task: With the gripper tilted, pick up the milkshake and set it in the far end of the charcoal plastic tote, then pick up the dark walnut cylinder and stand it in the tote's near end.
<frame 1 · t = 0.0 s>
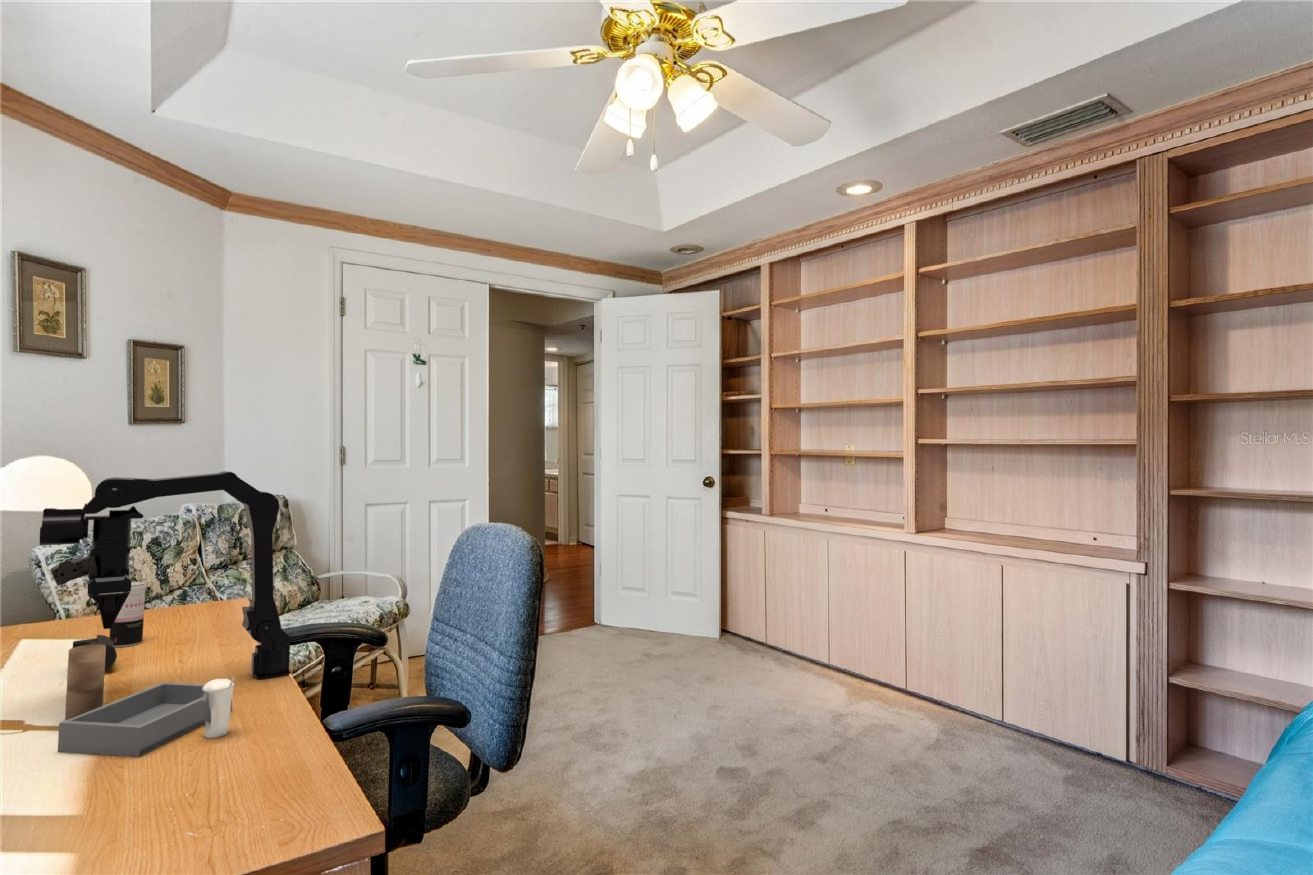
hand: (107, 623, 128), 15 cm above the table, tool pointing down, fingers open, 9 cm apart
tote: (151, 729, 115), on the table
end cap: (93, 671, 146), on the table
walnut cylinder: (83, 722, 117), on the table
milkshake: (218, 736, 113), on the table
beverage can: (125, 645, 167), on the table
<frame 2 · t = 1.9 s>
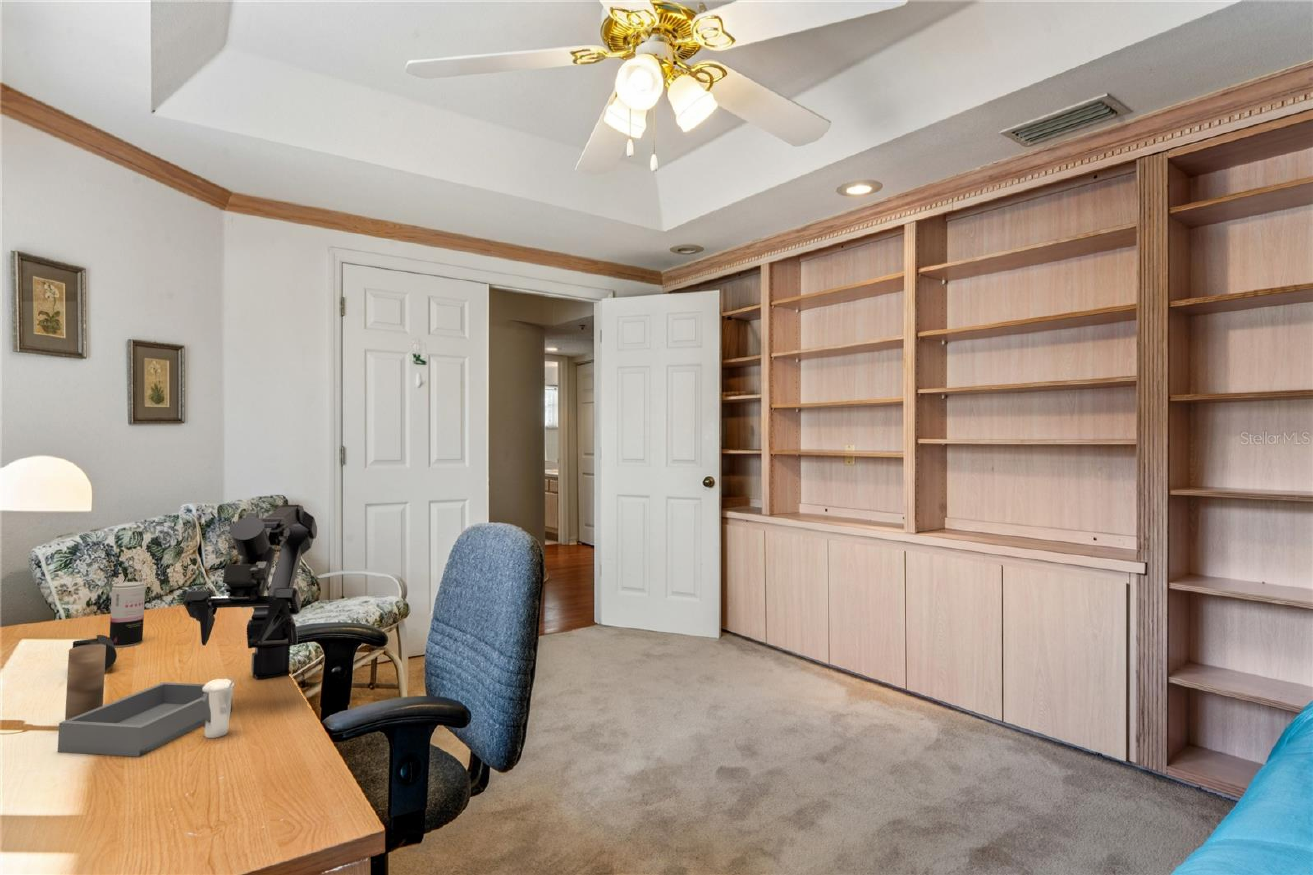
hand: (232, 643, 121), 13 cm above the table, tool tilted 45°, fingers open, 9 cm apart
nothing on the table moved.
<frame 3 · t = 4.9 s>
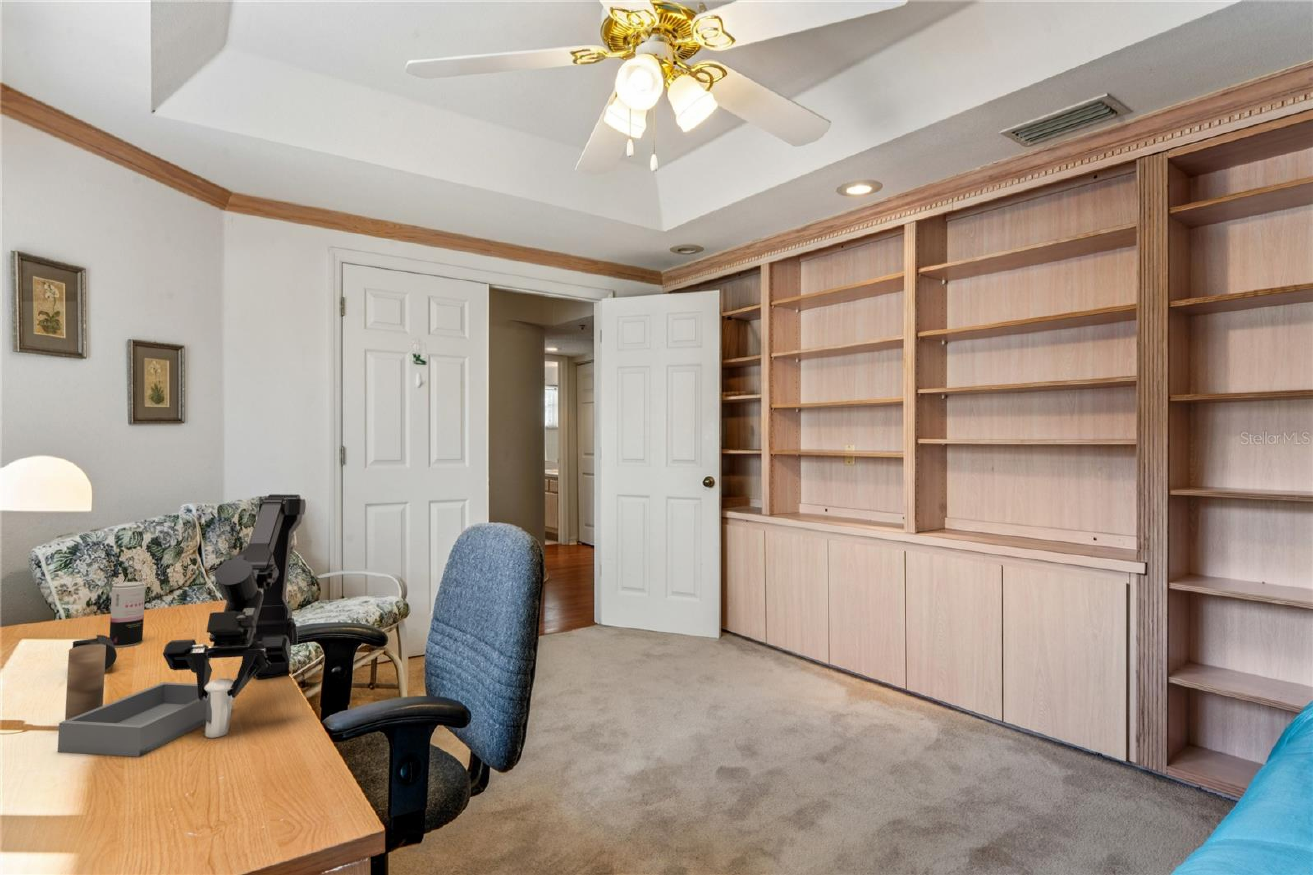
hand: (216, 698, 112), 7 cm above the table, tool tilted 45°, fingers closed on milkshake, 4 cm apart
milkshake: (218, 735, 113), on the table, touching gripper
everything else where it was.
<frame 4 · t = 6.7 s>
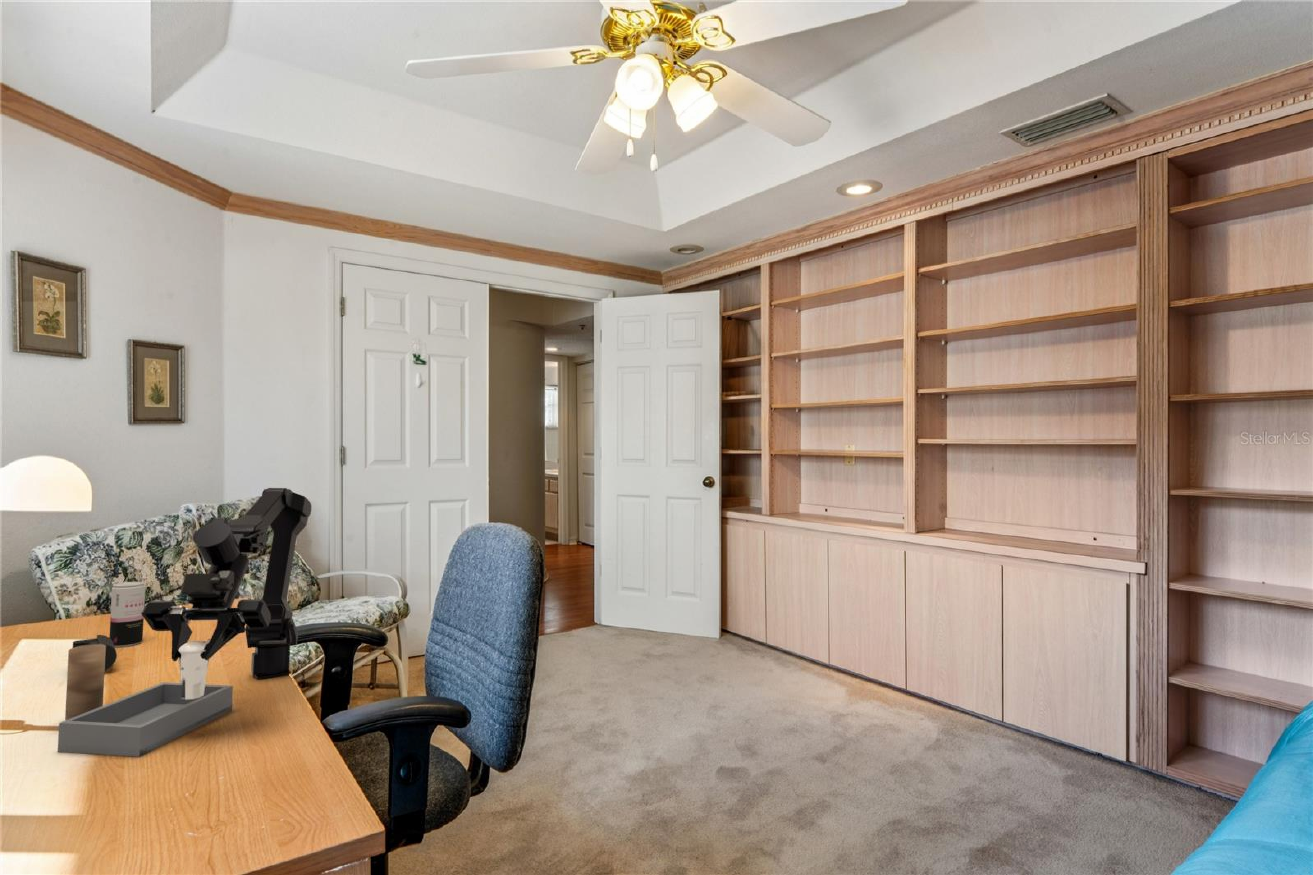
hand: (189, 659, 111), 13 cm above the table, tool tilted 45°, fingers closed on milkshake, 4 cm apart
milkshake: (194, 697, 112), point 6 cm above the table, touching gripper
everything else where it was.
when the fingers open (9 cm above the table, at t = 8.7 s): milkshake drops 1 cm, resting on tote.
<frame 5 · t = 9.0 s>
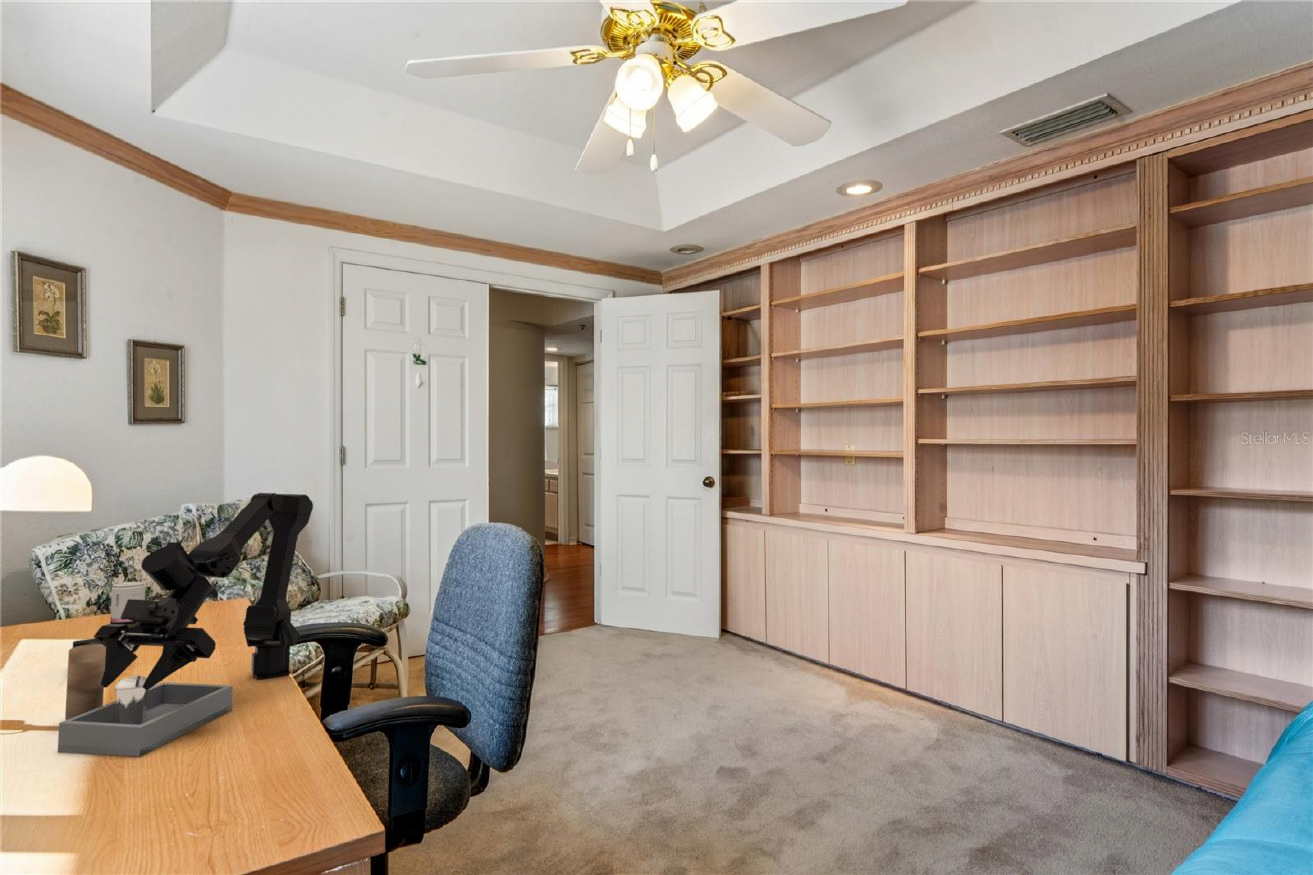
hand: (124, 687, 109), 9 cm above the table, tool tilted 45°, fingers open, 7 cm apart
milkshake: (131, 734, 110), point 1 cm above the table, touching tote
everything else where it was.
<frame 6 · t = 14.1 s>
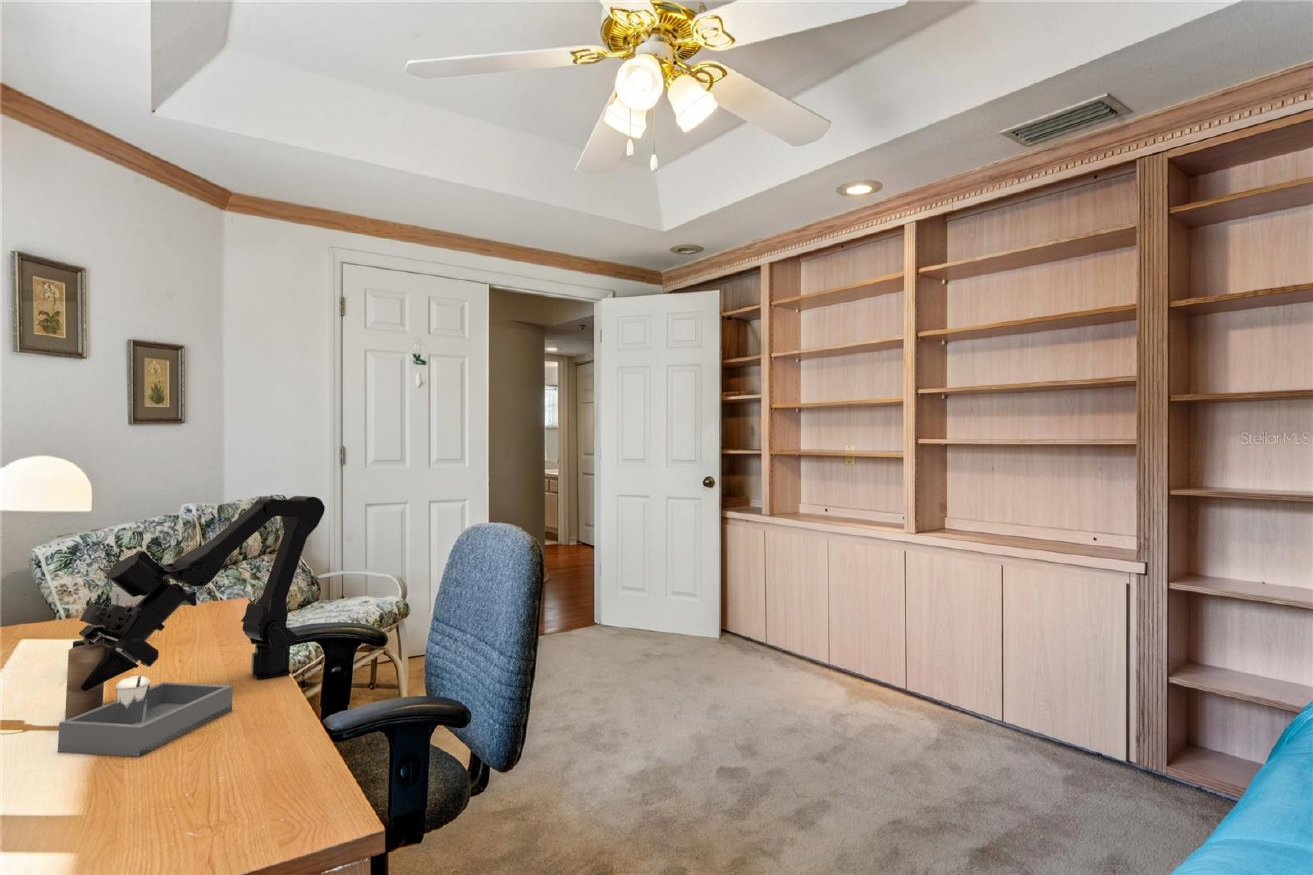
hand: (75, 687, 116), 7 cm above the table, tool tilted 45°, fingers closed on walnut cylinder, 5 cm apart
walnut cylinder: (83, 722, 117), on the table, touching gripper
everything else where it was.
when the fingers open (9 cm above the table, at t = 19.0 s): walnut cylinder stays where it is, resting on tote.
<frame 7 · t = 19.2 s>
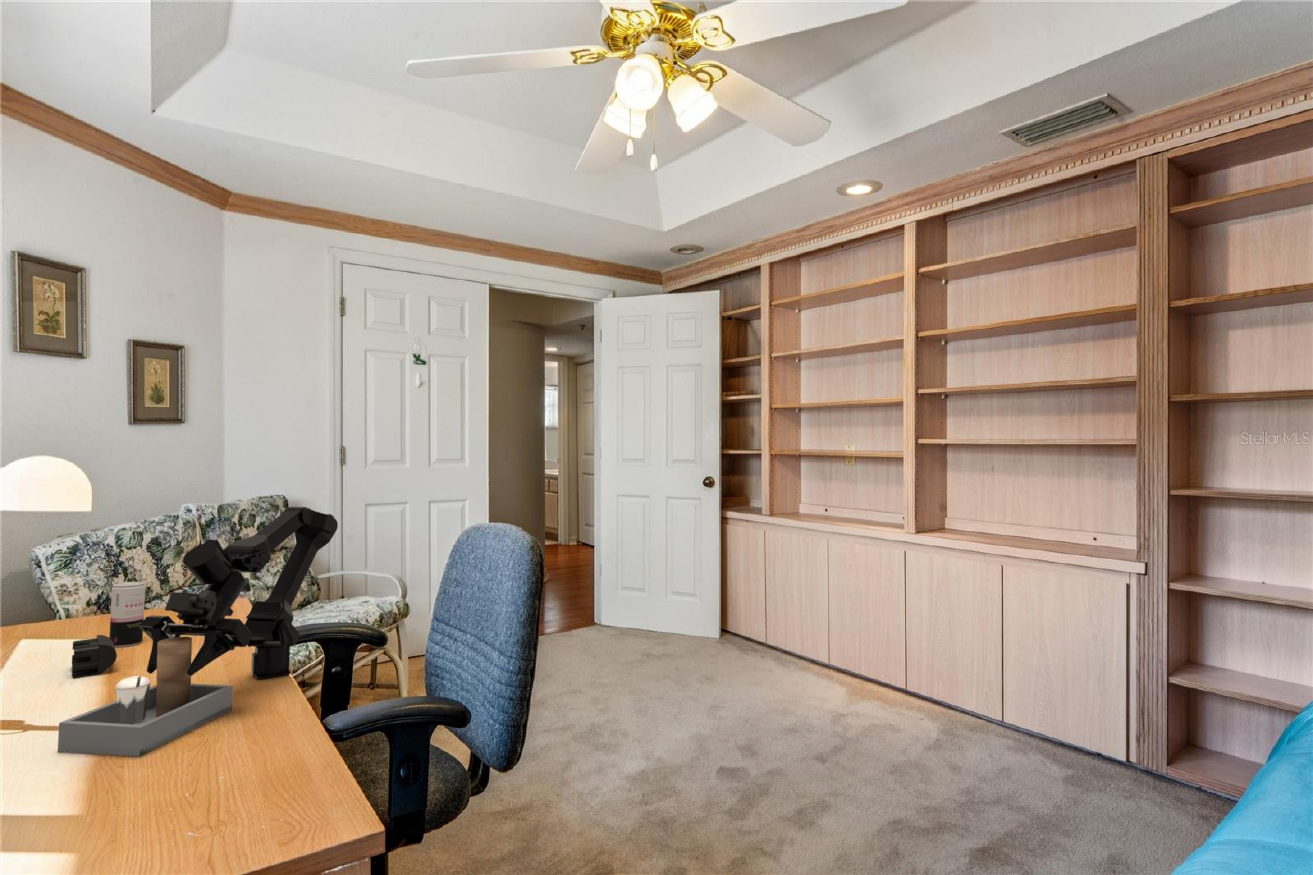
hand: (168, 673, 118), 9 cm above the table, tool tilted 45°, fingers open, 7 cm apart
walnut cylinder: (173, 713, 119), point 1 cm above the table, touching tote
everything else where it was.
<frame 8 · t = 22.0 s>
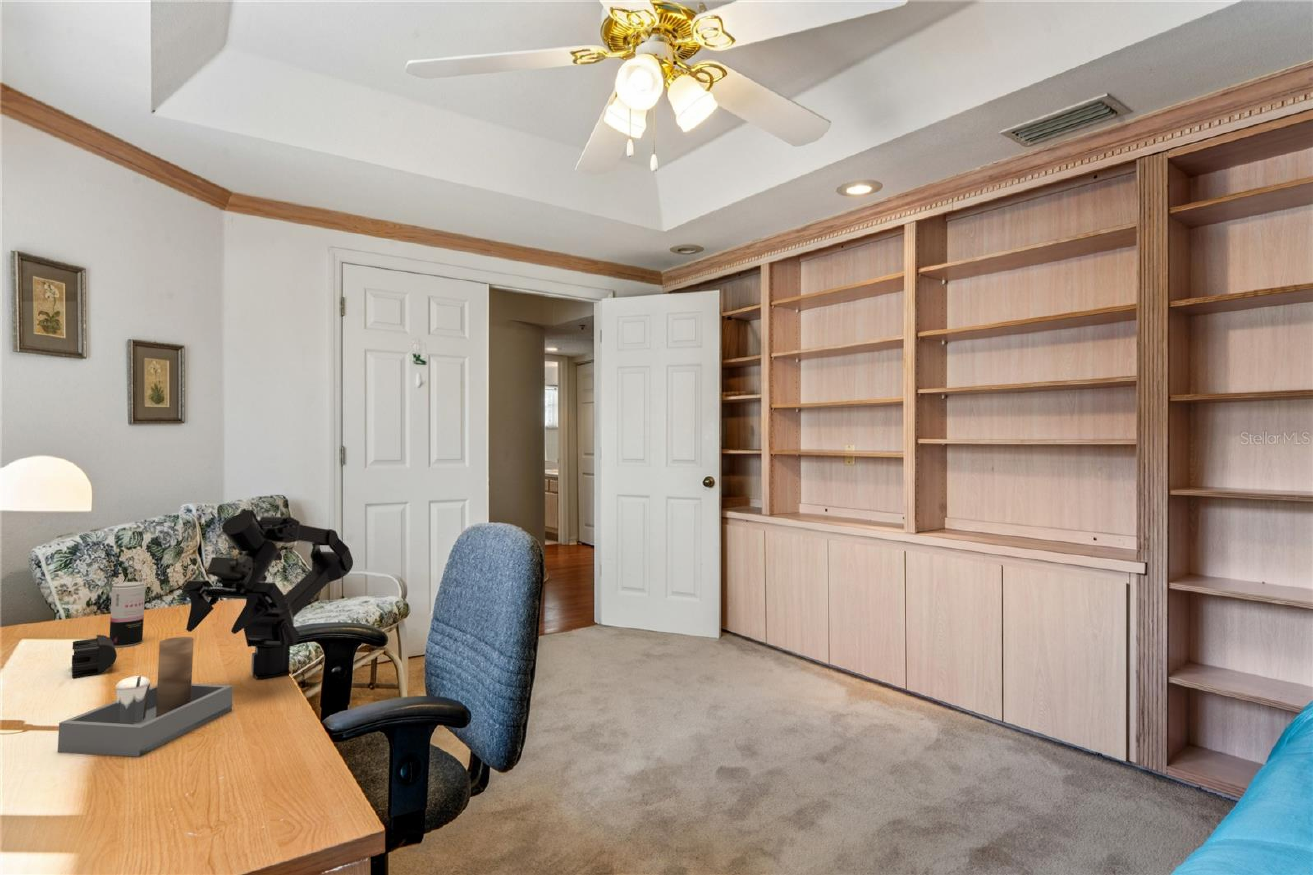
hand: (210, 631, 128), 14 cm above the table, tool tilted 45°, fingers open, 9 cm apart
nothing on the table moved.
at the end: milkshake 4.5 cm from the tote (horizontally); walnut cylinder 4.5 cm from the tote (horizontally); walnut cylinder tilted 0° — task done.
